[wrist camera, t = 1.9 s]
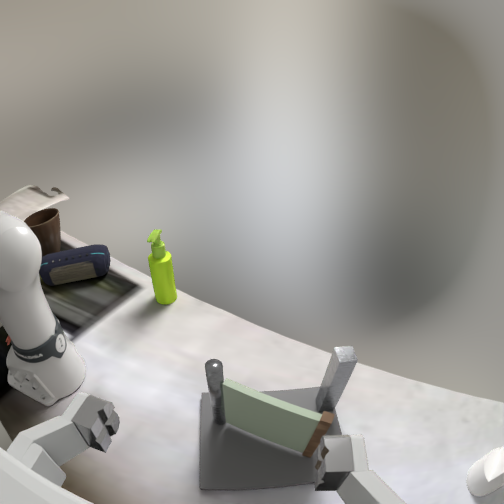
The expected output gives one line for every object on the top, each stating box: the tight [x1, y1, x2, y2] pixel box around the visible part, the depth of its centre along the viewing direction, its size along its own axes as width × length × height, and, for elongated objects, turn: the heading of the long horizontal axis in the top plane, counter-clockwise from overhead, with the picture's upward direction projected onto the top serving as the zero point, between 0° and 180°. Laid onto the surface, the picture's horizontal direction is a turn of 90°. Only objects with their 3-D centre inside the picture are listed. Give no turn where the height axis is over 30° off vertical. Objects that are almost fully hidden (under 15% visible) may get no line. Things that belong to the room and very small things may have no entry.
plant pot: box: [24, 208, 60, 257], centre depth 89 cm, size 15×15×16 cm
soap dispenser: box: [147, 230, 177, 305], centre depth 72 cm, size 6×7×20 cm
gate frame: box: [200, 346, 357, 490], centre depth 40 cm, size 25×20×18 cm
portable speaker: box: [39, 245, 110, 286], centre depth 80 cm, size 25×10×10 cm, turn 113°
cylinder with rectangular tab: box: [466, 446, 504, 497], centre depth 26 cm, size 9×9×12 cm
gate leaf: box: [223, 378, 335, 458], centre depth 40 cm, size 16×2×14 cm, turn 64°
